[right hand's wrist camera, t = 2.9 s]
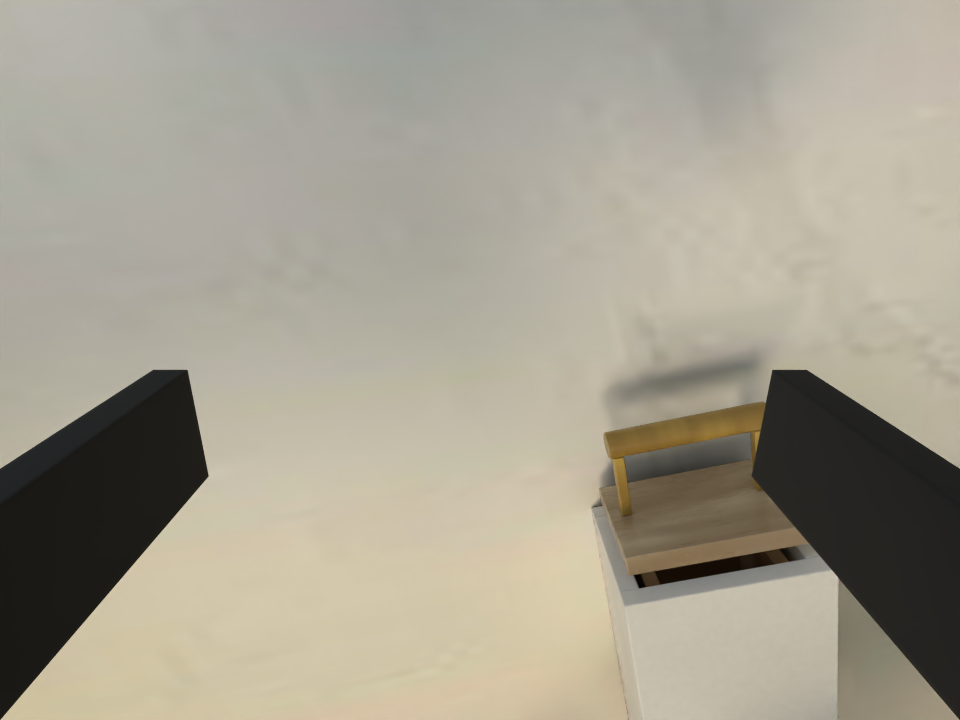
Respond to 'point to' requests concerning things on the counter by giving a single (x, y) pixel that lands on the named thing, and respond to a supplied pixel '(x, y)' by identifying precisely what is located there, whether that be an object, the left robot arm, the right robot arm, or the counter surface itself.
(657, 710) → the cabinet
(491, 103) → the counter surface
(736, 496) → the drawer
